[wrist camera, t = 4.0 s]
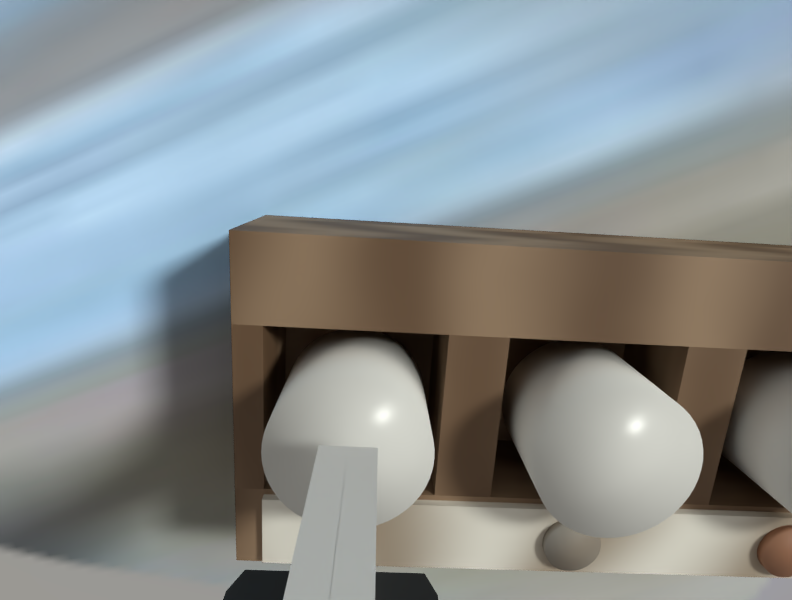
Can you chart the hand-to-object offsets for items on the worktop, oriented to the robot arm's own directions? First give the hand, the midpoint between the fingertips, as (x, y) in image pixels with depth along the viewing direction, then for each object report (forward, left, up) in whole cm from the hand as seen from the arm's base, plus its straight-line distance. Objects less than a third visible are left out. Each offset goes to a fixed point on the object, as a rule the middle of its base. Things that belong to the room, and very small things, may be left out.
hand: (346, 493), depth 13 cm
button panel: (+8, 0, -9) cm, 12 cm away
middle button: (+8, 0, -6) cm, 10 cm away
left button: (0, 0, -6) cm, 6 cm away
